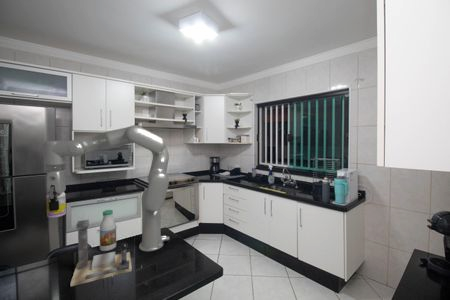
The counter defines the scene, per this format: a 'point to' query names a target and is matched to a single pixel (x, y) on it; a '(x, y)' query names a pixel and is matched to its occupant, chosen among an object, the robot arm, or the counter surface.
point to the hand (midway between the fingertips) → (56, 207)
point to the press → (95, 261)
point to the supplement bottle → (61, 206)
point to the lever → (123, 256)
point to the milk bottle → (107, 231)
